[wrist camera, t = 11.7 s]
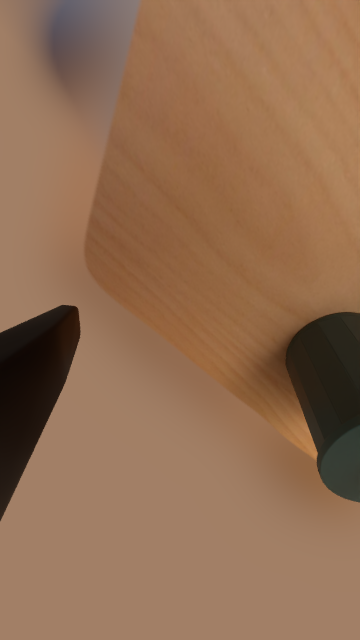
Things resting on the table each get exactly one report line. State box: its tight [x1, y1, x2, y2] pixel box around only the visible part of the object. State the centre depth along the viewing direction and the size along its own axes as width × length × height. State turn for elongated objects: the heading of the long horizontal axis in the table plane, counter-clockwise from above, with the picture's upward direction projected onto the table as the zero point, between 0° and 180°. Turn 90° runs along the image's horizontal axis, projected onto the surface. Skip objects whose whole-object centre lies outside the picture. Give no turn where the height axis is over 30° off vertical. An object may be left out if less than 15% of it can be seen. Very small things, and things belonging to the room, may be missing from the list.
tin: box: [285, 312, 360, 452], centre depth 22 cm, size 8×8×9 cm
